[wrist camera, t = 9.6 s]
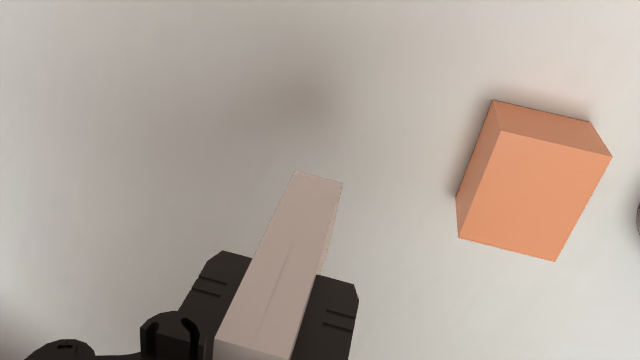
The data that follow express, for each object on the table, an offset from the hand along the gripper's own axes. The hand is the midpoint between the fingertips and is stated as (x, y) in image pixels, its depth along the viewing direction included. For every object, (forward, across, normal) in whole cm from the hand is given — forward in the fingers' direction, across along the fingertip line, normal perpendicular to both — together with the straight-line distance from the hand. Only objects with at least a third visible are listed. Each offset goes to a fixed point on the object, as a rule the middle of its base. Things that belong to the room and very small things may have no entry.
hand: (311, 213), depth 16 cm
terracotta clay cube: (+8, +8, 0) cm, 11 cm away
